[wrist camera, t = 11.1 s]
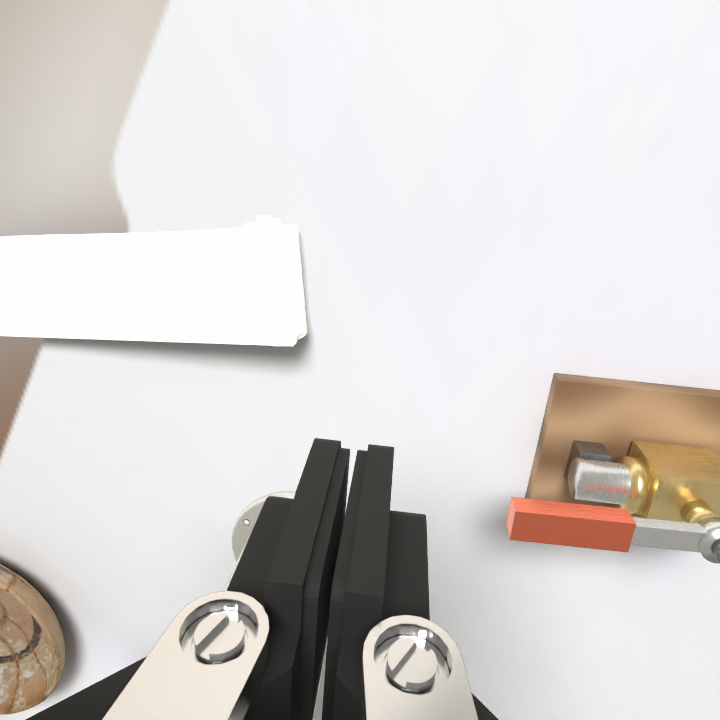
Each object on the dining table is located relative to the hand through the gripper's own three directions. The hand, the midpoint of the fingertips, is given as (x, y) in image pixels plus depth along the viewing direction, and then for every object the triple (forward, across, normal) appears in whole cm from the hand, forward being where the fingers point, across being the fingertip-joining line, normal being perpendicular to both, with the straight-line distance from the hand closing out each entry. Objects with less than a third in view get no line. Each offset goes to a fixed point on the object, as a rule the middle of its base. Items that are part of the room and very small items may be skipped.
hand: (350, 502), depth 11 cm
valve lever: (+23, -18, +16) cm, 33 cm away
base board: (+32, -24, +16) cm, 43 cm away
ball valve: (+31, -24, +16) cm, 42 cm away
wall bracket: (+33, +21, +5) cm, 39 cm away
